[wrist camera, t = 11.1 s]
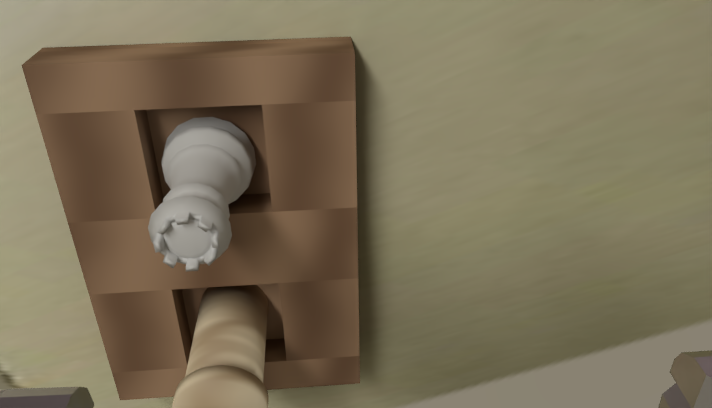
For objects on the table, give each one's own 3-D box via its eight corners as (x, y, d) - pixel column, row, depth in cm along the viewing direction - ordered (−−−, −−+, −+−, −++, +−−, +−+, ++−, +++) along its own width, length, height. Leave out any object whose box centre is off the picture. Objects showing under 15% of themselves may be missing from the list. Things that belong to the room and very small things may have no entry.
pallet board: (350, 36, 29) (368, 104, 22) (356, 353, 39) (370, 472, 32) (42, 47, 28) (-48, 122, 21) (130, 368, 38) (90, 495, 31)
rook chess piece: (145, 147, 30) (101, 237, 24) (214, 94, 29) (189, 173, 23) (208, 208, 32) (184, 308, 26) (275, 161, 31) (268, 252, 25)
